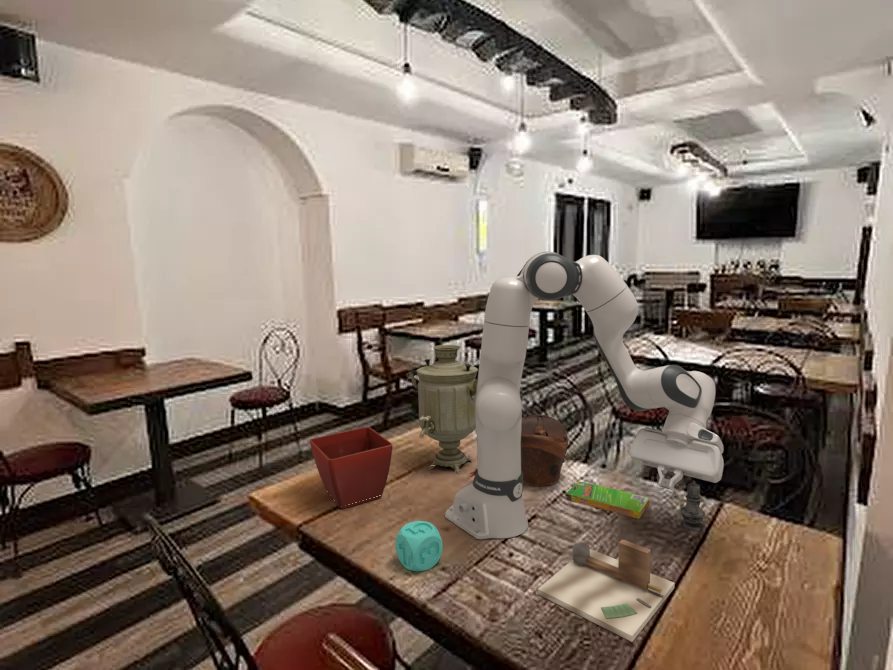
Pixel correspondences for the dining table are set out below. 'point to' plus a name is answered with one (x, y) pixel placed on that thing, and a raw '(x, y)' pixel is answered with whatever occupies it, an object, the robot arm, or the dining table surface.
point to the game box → (609, 499)
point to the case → (542, 449)
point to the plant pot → (353, 465)
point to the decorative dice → (418, 545)
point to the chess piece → (692, 509)
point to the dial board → (606, 596)
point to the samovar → (447, 404)
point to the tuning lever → (621, 563)
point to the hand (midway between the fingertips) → (665, 487)
